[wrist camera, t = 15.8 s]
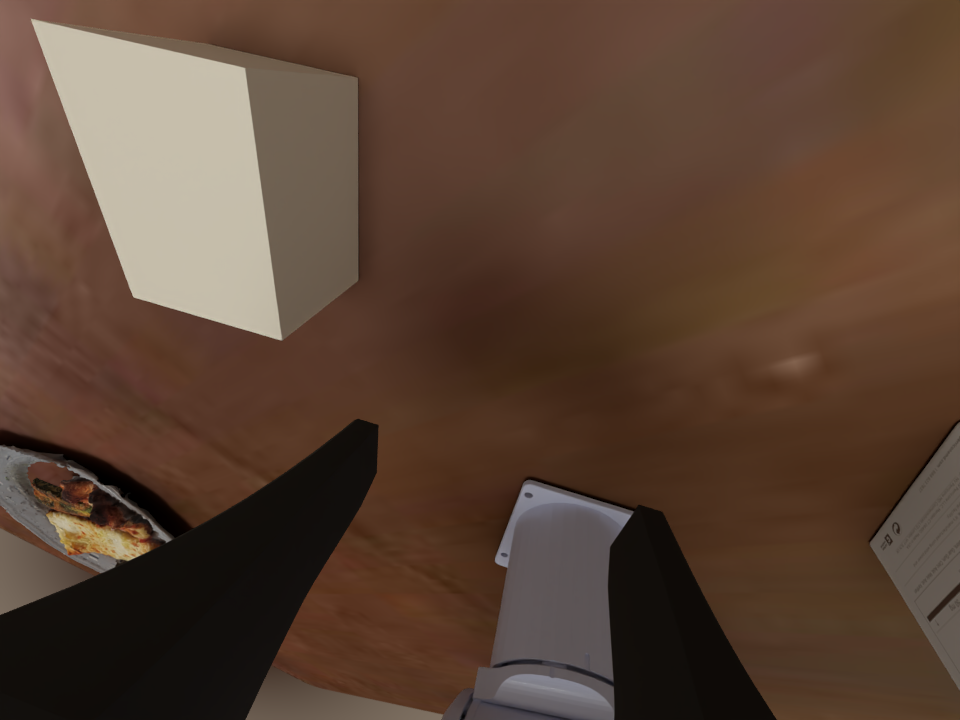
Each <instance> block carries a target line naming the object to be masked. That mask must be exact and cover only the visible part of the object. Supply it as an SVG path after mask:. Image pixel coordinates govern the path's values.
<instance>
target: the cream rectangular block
mask: <svg viewBox="0 0 960 720" xmlns="http://www.w3.org/2000/svg"><path fill="white" fill-rule="evenodd" d="M31 21H32V23H33V26H34V29H35V31H36V34H37V37H38V40H39V42H40V45H41V48H42V50H43V53H44V56H45V59H46V61H47V64H48V67H49V69H50V72H51V75H52V78H53V80H54V83H55V86H56V88H57V91H58V94H59V97H60V99H61V102H62V105H63V108H64V110H65V113H66V116H67V118H68V121H69V124H70V127H71V129H72V132H73V135H74V137H75V140H76V143H77V146H78V148H79V151H80V154H81V156H82V159H83V162H84V165H85V167H86V170H87V173H88V175H89V178H90V181H91V184H92V186H93V189H94V192H95V194H96V197H97V200H98V203H99V205H100V208H101V211H102V213H103V216H104V219H105V222H106V224H107V227H108V230H109V232H110V235H111V238H112V241H113V243H114V246H115V249H116V251H117V254H118V257H119V260H120V262H121V265H122V268H123V271H124V273H125V276H126V279H127V281H128V284H129V287H130V290H131V292H132V295H133V297H135V298H138V299H141V300H145V301H148V302H152V303H155V304H159V305H162V306H165V307H169V308H172V309H176V310H179V311H183V312H186V313H189V314H193V315H196V316H200V317H203V318H206V319H210V320H213V321H217V322H220V323H224V324H227V325H230V326H234V327H237V328H241V329H244V330H247V331H251V332H254V333H258V334H261V335H265V336H268V337H271V338H275V339H278V340H284V339H285V338H286V337H287V336H289V335H290V334H291V333H292V332H294V331H295V330H296V329H298V328H299V327H300V326H301V325H303V324H304V323H305V322H306V321H308V320H309V319H310V318H311V317H313V316H314V315H315V314H317V313H318V312H319V311H320V310H322V309H323V308H324V307H325V306H327V305H328V304H329V303H331V302H332V301H333V300H334V299H336V298H337V297H338V296H339V295H341V294H342V293H343V292H345V291H346V290H347V289H348V288H350V287H351V286H352V285H353V284H355V283H356V282H357V281H358V78H357V77H353V76H348V75H344V74H339V73H335V72H330V71H326V70H321V69H317V68H313V67H308V66H304V65H299V64H295V63H290V62H286V61H281V60H277V59H273V58H268V57H264V56H259V55H255V54H250V53H246V52H241V51H237V50H232V49H228V48H224V47H219V46H215V45H210V44H205V43H198V42H191V41H184V40H177V39H170V38H162V37H155V36H148V35H141V34H134V33H127V32H120V31H113V30H106V29H99V28H92V27H84V26H77V25H70V24H63V23H56V22H49V21H42V20H35V19H31Z"/></svg>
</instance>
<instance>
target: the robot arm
mask: <svg viewBox="0 0 960 720" xmlns="http://www.w3.org/2000/svg"><path fill="white" fill-rule="evenodd" d="M377 449H378V425H377V424H373V423H370V422H367V421H364V420H360V419H356V420H354V421H353V422H352V423H350V424H349V425H348V426H347V427H345V428H344V429H343V430H342V431H340V432H339V433H338V434H337V435H335V436H334V437H333V438H331V439H330V440H329V441H328V442H326V443H325V444H324V445H322V446H321V447H320V448H318V449H317V450H316V451H314V452H313V453H312V454H310V455H309V456H308V457H306V458H305V459H303V460H302V461H301V462H299V463H298V464H297V465H295V466H294V467H292V468H291V469H290V470H288V471H287V472H285V473H284V474H282V475H281V476H279V477H278V478H276V479H275V480H273V481H272V482H270V483H269V484H267V485H266V486H264V487H263V488H261V489H260V490H258V491H257V492H255V493H254V494H252V495H250V496H249V497H247V498H246V499H244V500H242V501H241V502H239V503H237V504H236V505H234V506H232V507H231V508H229V509H227V510H226V511H224V512H222V513H220V514H219V515H217V516H215V517H213V518H212V519H210V520H208V521H206V522H205V523H203V524H201V525H199V526H197V527H195V528H193V529H192V530H190V531H188V532H186V533H184V534H182V535H180V536H178V537H176V538H174V539H173V540H171V541H169V542H167V543H165V544H163V545H161V546H159V547H157V548H155V549H153V550H151V551H149V552H147V553H144V554H142V555H140V556H138V557H136V558H134V559H131V560H129V561H127V562H125V563H123V564H120V565H118V566H116V567H114V568H112V569H109V570H107V571H105V572H103V573H101V574H99V575H96V576H94V577H92V578H90V579H87V580H85V581H83V582H80V583H78V584H76V585H74V586H71V587H69V588H66V589H64V590H61V591H59V592H56V593H54V594H51V595H49V596H46V597H44V598H41V599H39V600H37V601H34V602H31V603H29V604H27V605H24V606H22V607H19V608H17V609H14V610H12V611H9V612H7V613H4V614H1V615H0V720H245V719H246V717H247V715H248V713H249V711H250V709H251V707H252V704H253V702H254V700H255V698H256V696H257V694H258V692H259V689H260V687H261V685H262V683H263V681H264V679H265V677H266V675H267V673H268V670H269V669H270V666H271V665H272V663H273V660H274V658H275V656H276V654H277V652H278V650H279V648H280V646H281V644H282V642H283V640H284V638H285V636H286V634H287V632H288V630H289V628H290V626H291V624H292V622H293V620H294V618H295V616H296V614H297V612H298V610H299V608H300V606H301V605H302V603H303V601H304V599H305V597H306V595H307V593H308V592H309V590H310V588H311V586H312V585H313V583H314V581H315V580H316V578H317V576H318V575H319V573H320V572H321V570H322V568H323V567H324V565H325V563H326V562H327V560H328V559H329V557H330V555H331V554H332V552H333V551H334V549H335V547H336V546H337V544H338V543H339V541H340V539H341V538H342V536H343V534H344V533H345V531H346V530H347V528H348V526H349V525H350V523H351V521H352V520H353V518H354V517H355V515H356V513H357V512H358V510H359V508H360V507H361V505H362V503H363V500H364V498H365V496H366V494H367V492H368V490H369V488H370V486H371V484H372V482H373V479H374V477H375V475H376V473H377ZM495 562H496V563H497V564H499V565H501V566H504V567H507V573H506V579H505V585H504V590H503V596H502V602H501V607H500V613H499V618H498V624H497V630H496V635H495V641H494V647H493V652H492V658H491V664H490V668H486V667H479V668H478V673H477V678H476V683H475V688H474V689H472V688H467V689H464V690H463V691H462V692H460V693H459V695H458V696H457V697H456V699H455V700H454V701H453V703H452V704H451V705H450V706H449V707H448V708H447V710H446V712H445V713H444V715H443V718H442V719H441V720H777V719H776V718H775V716H774V715H773V713H772V712H771V710H770V709H769V707H768V706H767V704H766V702H765V701H764V699H763V698H762V696H761V695H760V693H759V692H758V690H757V688H756V687H755V685H754V684H753V682H752V680H751V679H750V677H749V675H748V674H747V672H746V670H745V669H744V667H743V665H742V664H741V662H740V660H739V658H738V657H737V655H736V653H735V652H734V650H733V648H732V646H731V645H730V643H729V641H728V639H727V638H726V636H725V634H724V632H723V630H722V629H721V627H720V625H719V623H718V621H717V620H716V618H715V616H714V614H713V612H712V610H711V608H710V606H709V604H708V603H707V601H706V599H705V597H704V595H703V593H702V591H701V589H700V587H699V585H698V583H697V581H696V579H695V577H694V575H693V573H692V571H691V569H690V567H689V565H688V563H687V561H686V559H685V557H684V555H683V553H682V551H681V549H680V547H679V545H678V543H677V541H676V539H675V537H674V535H673V532H672V530H671V528H670V526H669V524H668V522H667V520H666V518H665V516H664V514H663V512H661V511H658V510H654V509H651V508H648V507H645V506H641V505H638V507H637V508H636V509H635V511H631V510H627V509H624V508H621V507H618V506H614V505H611V504H608V503H605V502H601V501H598V500H595V499H592V498H588V497H585V496H582V495H579V494H575V493H572V492H569V491H566V490H562V489H559V488H556V487H553V486H549V485H546V484H543V483H540V482H536V481H533V480H527V481H525V482H524V483H523V486H522V488H521V491H520V493H519V496H518V499H517V501H516V504H515V507H514V509H513V512H512V514H511V517H510V520H509V522H508V525H507V528H506V530H505V533H504V535H503V538H502V541H501V543H500V546H499V548H498V551H497V554H496V557H495Z"/></svg>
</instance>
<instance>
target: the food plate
mask: <svg viewBox="0 0 960 720" xmlns="http://www.w3.org/2000/svg"><path fill="white" fill-rule="evenodd" d="M63 455H64V454H52V453H41V452H35V451H32V450H29V449H20V448H16V447H15V446H11V447H10V446H9V447H6V445H0V506H2V507H4V509H6V510H7V511H6V512H8V513H9V514H10V515H11V516H12V517H13V518H14V519H16V520H17V521H18V522H19V523H21V524H23V525H24V526H26V528H27V529H29V530H31V532H33V533H34V534H36V535H37V536H38V537H39V538H41V539H42V540H43V541H45V542H46V543H47V544H49V545H51V546H52V547H54V548H55V549H57V550H59V551H61V552H62V553H64V554H65V555H67V556H68V557H70V558H71V559H74V560H75V561H77V562H80V563H82V564H84V565H86V566H88V567H90V568H92V569H94V570H96V571H98V572H100V573H103V572H105V571H107V570H109V569H112V568H114V567H116V566H118V565H120V564H123V563H125V562H127V561H129V560H131V559H134V558H136V557H138V556H140V555H142V554H144V553H147V552H149V551H151V550H153V549H155V548H157V547H159V546H161V545H163V544H165V543H167V542H169V541H171V540H173V539H174V536H173V535H171V534H170V533H168V532H167V531H166V530H165V529H164V528H163V527H161V525H160V524H159V523H158V522H157V521H156V519H154V518H153V517H152V515H150V513H149V511H147V510H145V509H141V508H139V507H138V506H137V503H134V502H133V501H132V500H130V499H128V497H127V496H128V494H131V493H127V494H126V495H125V497H124V498H125V499H123V498H122V497H121V494H122V493H123V492H122V491H120V488H119V489H118V488H117V486H107V485H103V483H100V482H99V481H98V478H99V477H97V476H96V475H95V474H94V473H93V472H91V471H89V470H88V469H86V468H84V467H83V466H81V465H79V464H77V463H76V462H74V461H73V460H68V461H67V460H66V459H65V458H64V457H63ZM39 461H42V462H54V463H55V464H57V466H59V467H65V466H66V467H67V468H68V470H70V471H74V473H78V474H79V475H80V477H78V476H74V477H73V478H74V479H73V478H72V479H71V480H68V481H65V480H63V481H61V484H60V487H62V488H63V489H62V488H60V487H58V486H55V485H52V484H50V483H47V482H44V481H42V480H39V479H38V478H36V479H34V480H33V481H34V482H33V483H32V484H31V483H30V480H29V479H28V477H27V476H28V475H27V474H26V473H27V472H28V470H27V468H28V467H29V466H30V465H29V464H32V463H35V462H39ZM82 477H83V478H82ZM100 480H101V479H100ZM51 508H53V509H51ZM54 509H55V510H54ZM87 516H88V517H90V518H88V517H87Z"/></svg>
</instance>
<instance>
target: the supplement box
mask: <svg viewBox="0 0 960 720" xmlns="http://www.w3.org/2000/svg"><path fill="white" fill-rule="evenodd" d="M870 546H871V548H872V549H873V551H874V552H875V554H876V555H877V557H878V559H879V560H880V562H881V563H882V565H883V566H884V568H885V570H886V571H887V573H888V574H889V576H890V578H891V579H892V581H893V583H894V584H895V586H896V587H897V589H898V591H899V592H900V594H901V596H902V597H903V599H904V601H905V602H906V604H907V606H908V607H909V609H910V610H911V612H912V614H913V615H914V617H915V619H916V620H917V622H918V623H919V625H920V627H921V628H922V630H923V632H924V633H925V635H926V637H927V638H928V640H929V641H930V643H931V645H932V646H933V648H934V649H935V651H936V653H937V654H938V656H939V658H940V659H941V661H942V662H943V664H944V666H945V667H946V669H947V670H948V672H949V674H950V675H951V677H952V679H953V680H954V682H955V684H956V685H957V687H958V688H959V690H960V422H959V423H958V424H957V425H956V426H955V427H954V429H953V430H952V431H951V433H950V434H949V436H948V437H947V438H946V440H945V441H944V442H943V444H942V445H941V447H940V448H939V449H938V451H937V452H936V453H935V455H934V456H933V458H932V459H931V460H930V462H929V463H928V464H927V466H926V467H925V469H924V470H923V471H922V472H921V474H920V475H919V476H918V478H917V479H916V480H915V482H914V483H913V484H912V486H911V487H910V488H909V490H908V491H907V492H906V494H905V495H904V497H903V498H902V499H901V501H900V502H899V504H898V505H897V506H896V508H895V509H894V510H893V512H892V513H891V515H890V516H889V517H888V519H887V520H886V521H885V523H884V524H883V526H882V527H881V528H880V530H879V531H878V533H877V534H876V535H875V537H874V538H873V539H872V541H871V542H870Z"/></svg>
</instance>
